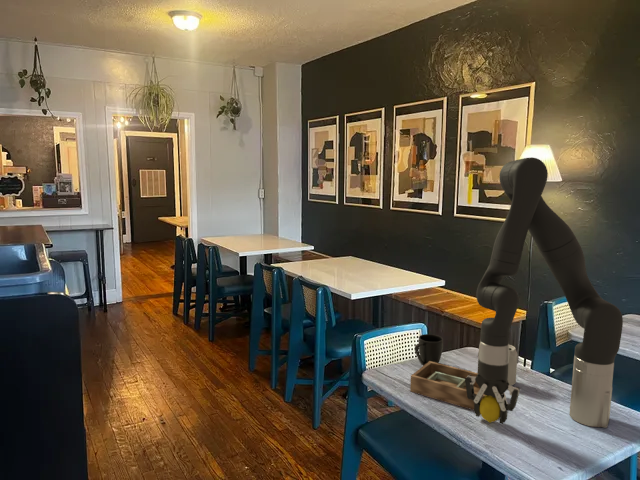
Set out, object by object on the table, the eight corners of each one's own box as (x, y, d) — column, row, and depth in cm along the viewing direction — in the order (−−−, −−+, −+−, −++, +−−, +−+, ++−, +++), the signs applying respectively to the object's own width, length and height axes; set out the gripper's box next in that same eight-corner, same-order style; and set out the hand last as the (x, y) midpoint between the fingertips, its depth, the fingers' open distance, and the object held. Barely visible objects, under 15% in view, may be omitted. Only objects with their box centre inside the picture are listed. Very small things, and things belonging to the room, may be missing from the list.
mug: (405, 366, 163) (406, 339, 162) (428, 357, 171) (429, 332, 169) (424, 374, 157) (425, 346, 156) (447, 365, 164) (448, 338, 163)
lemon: (502, 420, 128) (504, 392, 127) (498, 430, 123) (500, 401, 122) (481, 415, 131) (482, 387, 129) (476, 424, 126) (478, 396, 125)
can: (511, 390, 146) (514, 352, 144) (487, 383, 150) (489, 347, 148) (518, 381, 152) (520, 345, 150) (494, 375, 156) (496, 340, 154)
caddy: (497, 394, 143) (498, 378, 142) (483, 413, 132) (484, 396, 131) (429, 375, 156) (429, 361, 155) (410, 391, 145) (410, 375, 144)
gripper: (526, 360, 123) (521, 421, 126) (470, 348, 131) (468, 405, 134) (518, 370, 117) (514, 433, 120) (461, 356, 125) (458, 416, 128)
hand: (489, 418), depth 127 cm, fingers closed on lemon, 5 cm apart
